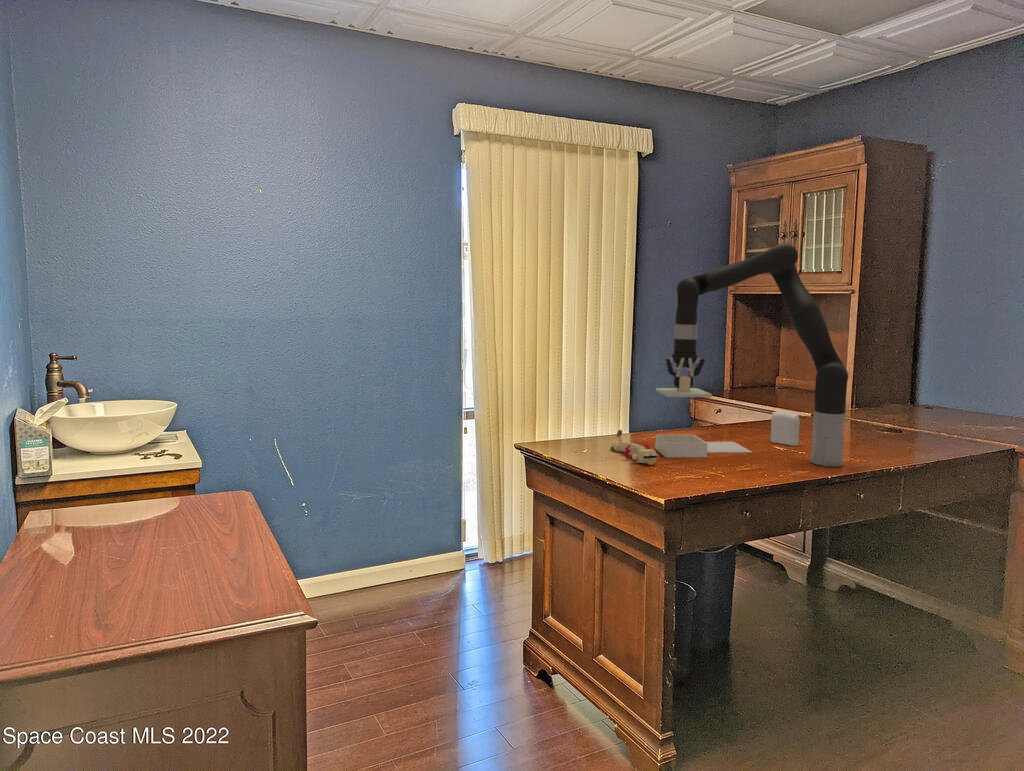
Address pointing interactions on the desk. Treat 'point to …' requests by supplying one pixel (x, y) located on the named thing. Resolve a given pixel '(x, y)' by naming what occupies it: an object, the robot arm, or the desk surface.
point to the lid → (683, 390)
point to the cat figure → (635, 451)
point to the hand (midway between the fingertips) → (683, 387)
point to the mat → (726, 447)
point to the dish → (681, 446)
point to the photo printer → (785, 428)
